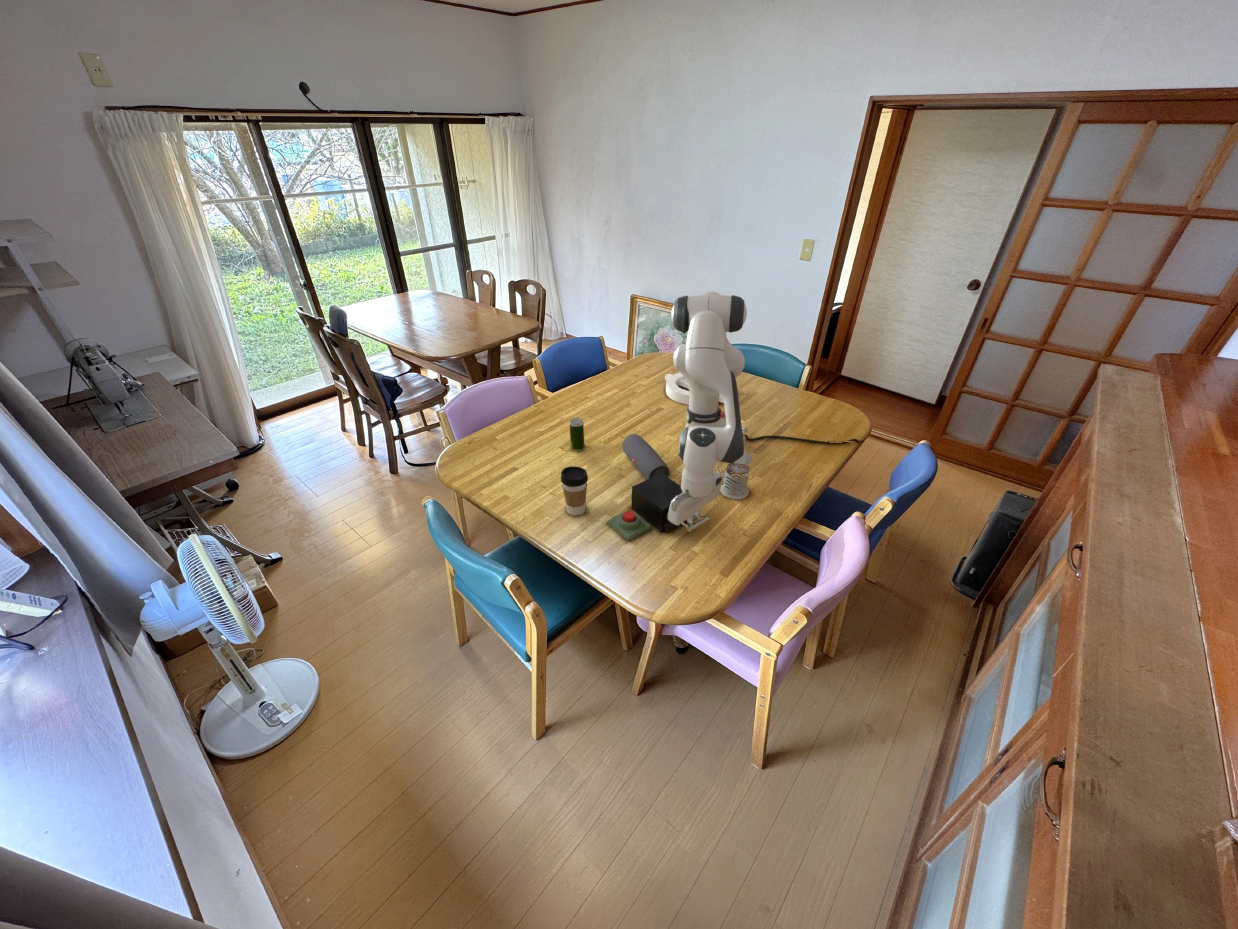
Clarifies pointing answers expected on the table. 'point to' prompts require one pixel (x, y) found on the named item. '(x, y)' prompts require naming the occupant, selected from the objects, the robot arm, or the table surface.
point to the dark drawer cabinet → (654, 499)
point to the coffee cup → (574, 489)
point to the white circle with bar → (675, 391)
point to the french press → (735, 485)
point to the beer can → (577, 434)
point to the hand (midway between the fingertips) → (692, 521)
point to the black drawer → (670, 526)
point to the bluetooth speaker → (644, 457)
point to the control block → (629, 526)
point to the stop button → (629, 516)
